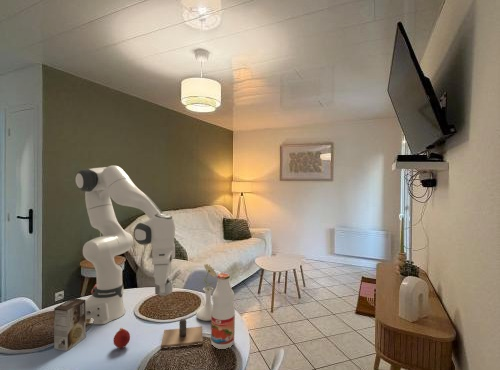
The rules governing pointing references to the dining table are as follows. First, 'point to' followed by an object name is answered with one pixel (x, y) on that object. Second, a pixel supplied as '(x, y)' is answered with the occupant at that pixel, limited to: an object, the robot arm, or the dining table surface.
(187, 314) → the dining table surface
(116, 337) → the onion
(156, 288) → the steel collar
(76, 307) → the coffee box
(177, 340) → the post board
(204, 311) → the flower in vase
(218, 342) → the fruit juice
